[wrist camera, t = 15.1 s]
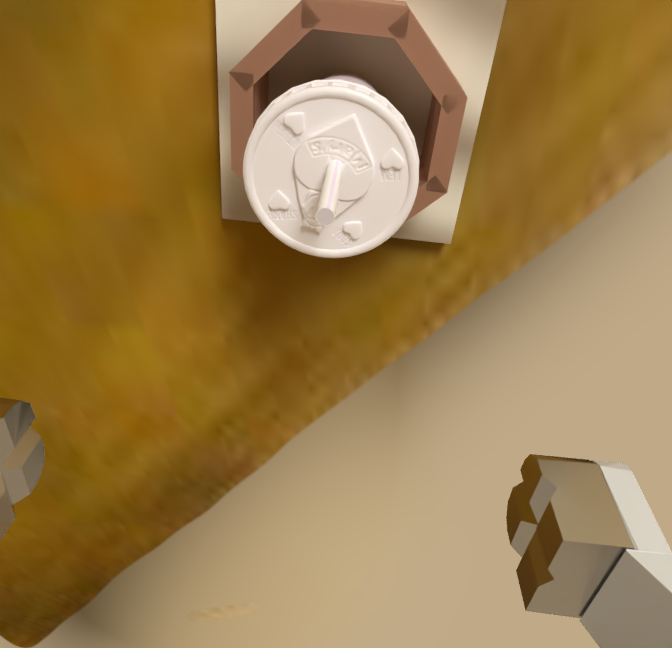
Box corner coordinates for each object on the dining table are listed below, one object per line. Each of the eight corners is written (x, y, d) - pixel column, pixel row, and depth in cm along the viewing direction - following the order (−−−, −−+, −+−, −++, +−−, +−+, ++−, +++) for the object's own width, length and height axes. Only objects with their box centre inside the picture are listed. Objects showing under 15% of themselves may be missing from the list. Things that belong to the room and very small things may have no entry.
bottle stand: (449, 236, 32) (458, 279, 28) (226, 211, 32) (203, 250, 28) (508, -29, 25) (534, -23, 21) (219, -60, 25) (187, -61, 21)
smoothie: (431, 72, 26) (470, 172, 15) (379, 192, 30) (377, 349, 18) (304, 18, 25) (240, 80, 14) (265, 148, 29) (189, 285, 17)
